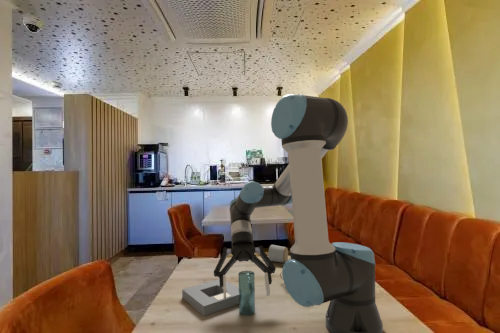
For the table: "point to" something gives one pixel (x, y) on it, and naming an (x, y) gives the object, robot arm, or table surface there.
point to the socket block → (208, 305)
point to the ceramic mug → (278, 253)
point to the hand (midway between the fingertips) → (246, 295)
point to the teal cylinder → (246, 293)
